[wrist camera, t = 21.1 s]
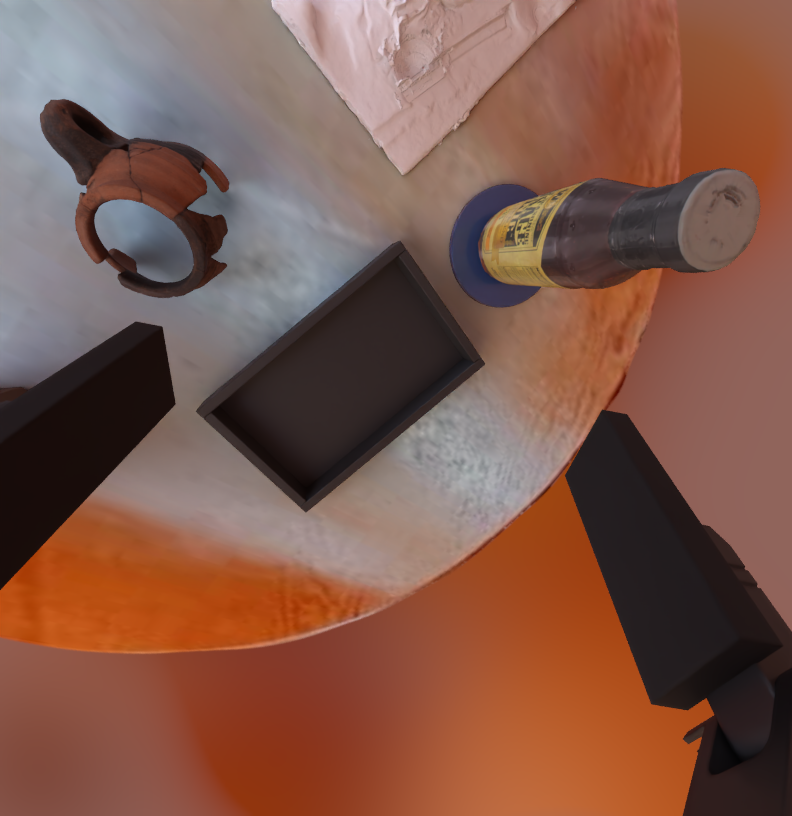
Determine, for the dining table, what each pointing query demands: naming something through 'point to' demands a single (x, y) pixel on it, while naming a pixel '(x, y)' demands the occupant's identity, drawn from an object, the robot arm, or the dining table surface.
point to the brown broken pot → (137, 191)
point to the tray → (345, 379)
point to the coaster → (466, 247)
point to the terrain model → (415, 59)
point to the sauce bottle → (621, 231)
